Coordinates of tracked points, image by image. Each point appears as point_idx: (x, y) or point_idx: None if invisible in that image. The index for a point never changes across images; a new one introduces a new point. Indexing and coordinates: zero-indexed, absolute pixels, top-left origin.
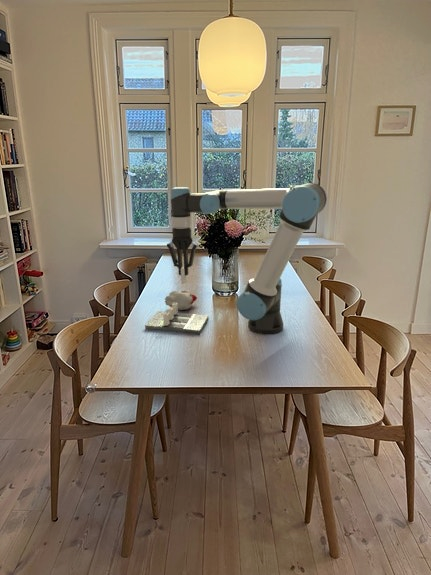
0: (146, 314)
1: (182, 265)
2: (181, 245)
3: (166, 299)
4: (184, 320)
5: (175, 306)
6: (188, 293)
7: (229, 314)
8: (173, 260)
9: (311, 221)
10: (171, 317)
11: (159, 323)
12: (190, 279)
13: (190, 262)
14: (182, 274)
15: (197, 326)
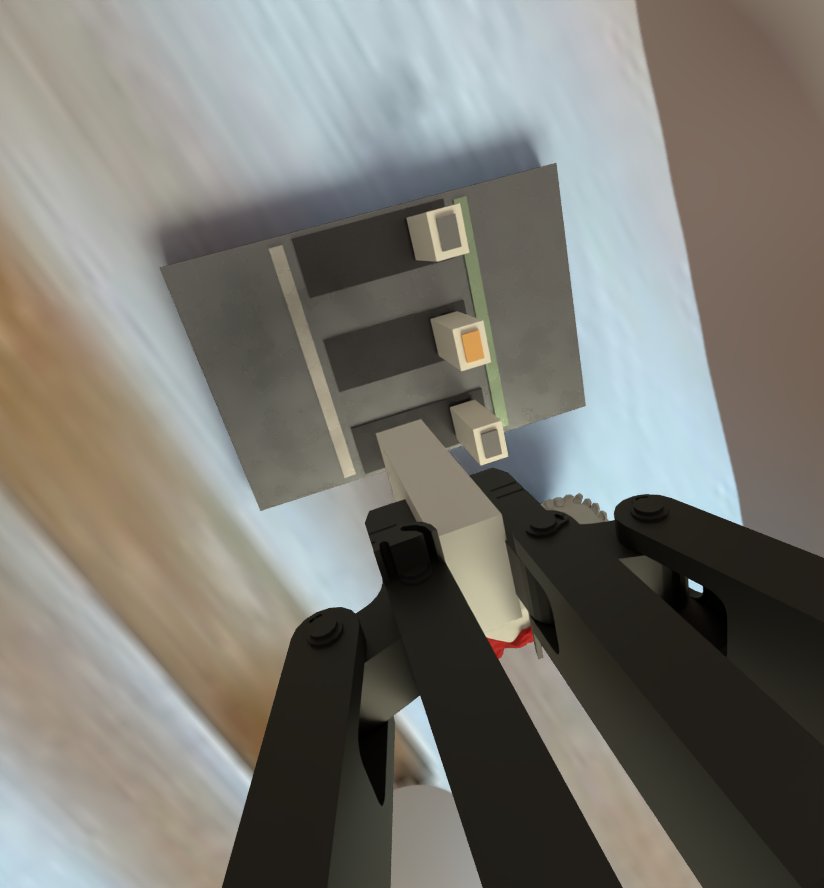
0: (638, 375)
1: (532, 631)
2: None
3: (597, 518)
4: (354, 360)
5: (472, 423)
6: (492, 629)
7: (191, 622)
8: (767, 554)
9: None
10: (438, 320)
11: (483, 239)
12: (628, 838)
13: (305, 705)
14: (435, 473)
15: (218, 321)
